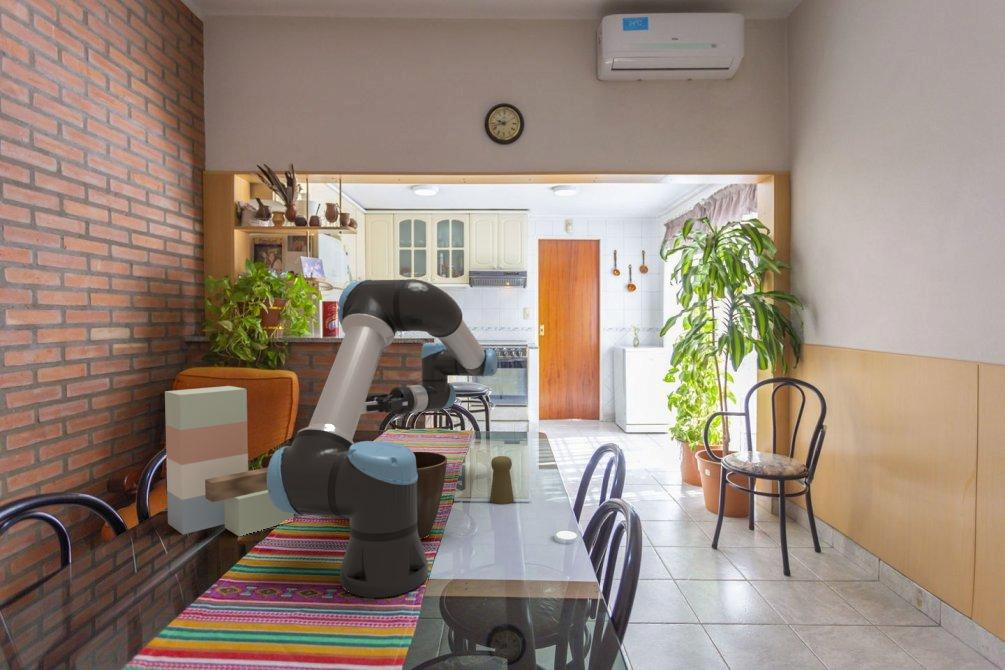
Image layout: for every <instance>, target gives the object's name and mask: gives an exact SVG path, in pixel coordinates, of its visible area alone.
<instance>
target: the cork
mask: <svg viewBox="0 0 1005 670" xmlns="http://www.w3.org/2000/svg"><path fill="white" fill-rule="evenodd" d="M490 465H491V466H490V467H491V468H492V470H493V473H492V479H491V488H490V496H489V501H490V503H492V504H495V505H507V504H511V503H513V502H514V501H515V499H514V493H513V485H512V477H511V469H512V465H513V462H512V459H511V457H509V456H507V455H506V456H505V455H498V456H495V457H493V458H492V460H491V462H490Z"/></svg>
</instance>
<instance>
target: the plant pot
mask: <svg viewBox="0 0 1005 670" xmlns="http://www.w3.org/2000/svg"><path fill="white" fill-rule="evenodd" d="M412 452H413V453H414V455H415V458H416V468H417V473H418V479H417V530H418V534H419V537H420V538H424V537H426V536H428V535H429V536H430V535H431V533H432V531H433V527H434V525H435V522H436V518H437V514H438V512H439V508H440V506H441V505H440V504H441V500H442V495H443V491H444V485H445V480H446V473H447V465H448V457H447V456H446V455H444V454H441V453H437V452H432V451H431V452H430V451H412ZM429 536H428V537H429ZM426 538H427V537H426ZM424 539H425V538H424Z"/></svg>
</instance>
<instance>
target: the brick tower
mask: <svg viewBox="0 0 1005 670" xmlns="http://www.w3.org/2000/svg"><path fill="white" fill-rule="evenodd" d="M247 392H248V391H247V388H243V387H239V386H238V387H237V386H234V385H233V386H232V385H225V386H213V387H200V388H187V389H177V390H168V391H167V390H166V391H164V402H165V406H164V408H165V449H166V451H165V452H166V453H165V455H166V491H167V492H166V493H167V495H166V496H167V498H166V499H167V524H168V525H169V526H170V527H172V528H173V529H175V530H176V531H177V532H179V533H180V534H182V535H187V534H190V533H195V532H198V531H203V530H206V529H210V528H215V527H218V526H222V525H225V511H224V500H220V501H216V502H211V501H209V500H208V499H206V498H205V480H206V479H211V478H216V477H221V476H226V475H231V474H236V473H241V472H247V471H248V468H249V449H248V447H249V445H248V436H249V435H248V397H247V396H248V393H247Z"/></svg>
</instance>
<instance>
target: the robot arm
mask: <svg viewBox="0 0 1005 670" xmlns="http://www.w3.org/2000/svg"><path fill="white" fill-rule="evenodd" d="M341 292H342V293H341V294H340V296H339V300H338V302H337V303H338V305H337V306H338V309H337V316H338V317H337V318H338V321H339V323H340V326H341V330H342V332H343V334H344V337H343V339H342V341H341V344H340V345H339V346H340V347H339V349H338V351H337V353H336V356H335V358H334V362H333V364H332V366H331V369H330V372H329V373H328V377H327V378H326V382H325V384H324V387H323V389H322V391H321V394H320V397H319V399H318V401H317V405H316V406H315V409H314V411H313V414H312V416H311V419H310V422H309V424H308V426H306V427H304V428H301V429H300V430H298V431H297V433H296V434H295V437H294V439H293V442H292V444H291V446H289V445H287V446H283V447H280V448H279V449H277V450H276V451H275V452H273V454H272V456H271V457H270V460H269V462H268V463H269V464H268V466H267V467H268V470H267V487H268V494H269V497H270V499H271V501H272V503H273V504H274V506H275V507H276V508H277V509H279V510H280V511H283V512H288V513H294V514H295V515H297V516H305V515H306V516H321V517H333V518H346V519H347V518H348V519H349V540H348V543H347V546H346V549H345V553H344V556H343V559H342V563H341V565H340V570H339V578H340V579H339V581H340V582H341V584H340V586H341V585H342V586H343V587H344V588H345V589H346V590H347V591H349V592H350V593H353V594H355V595H354V596H356V595H358V596H357V597H361V596H362V598H371V599H372V598H373V599H374V598H375V599H376V598H378V599H379V598H388V597H394V596H399V595H402V594H405V593H408V592H411V591H413V590H416V589H417V588H419V587H420V586H422V585H423V584H424V582H426V580H428V576H429V562H428V558H427V555H426V552H425V548H424V546H423V543H422V539H421V540H420V537H419V534H418V530H417V479H418V473H417V468H416V458H415V455H414V453H413V452H414V451H413V450H412V449H410V448H409V447H407V446H405V445H403V444H399V443H396V442H392V441H383V440H381V441H380V440H376V441H371V440H365V441H359V442H358V441H357V442H354V441H353V439H354V436H355V433H356V430H357V427H358V425H359V424H358V423H359V422H360V418H361V416H362V415H364V414H365V415H366V414H374V413H378V412H379V413H386V414H387V413H391V412H392V413H394V414H395V415H405V414H406V415H407V414H411V413H413V415H418V413H420V412H421V413H422V412H429V411H441V410H444V409H448V408H450V407H452V406H453V405H454V404H455V402H456V399H457V392H456V390H455V387H454V386H453V385H452V384H451V383H448V377H450V376H451V377H453V376H455V377H458V376H459V377H493V376H495V375H496V374H497V370H498V363H499V362H498V354H497V352H496V351H495V350H494V349H488V348H487V349H484V348H482V346H481V344H480V343H479V342H478V340H477V338H476V337H475V335H474V334H473V333H472V331H471V330H470V328H469V327H468V325H467V324H466V322H465V321H464V318H463V312H462V309H461V307H460V306H459V305H458V302H456V300H455V299H453V297H452V296H451V295H449V294H448V292H446V291H444V290H443V289H441V288H439V287H438V286H436V285H433V284H432V283H430V282H427V281H425V280H421V279H416V278H408V279H364V280H358V281H357V280H356V281H353V282H351V283H349V284H347V285H346V286H345V288H344V289H343V290H342V291H341ZM397 332H423V333H425V332H426V333H427V334H428V335H430V337H433V338H436V339H438V340H439V342H426V343H423V344H422V347H421V357H420V362H421V363H420V364H421V368H420V369H421V384H416V385H415V384H414V385H407V386H406V385H403V386H395V387H393V388H392V389H391V390H390V392H389V393H382V394H373V395H368V394H369V391H370V388H371V385H372V382H373V380H374V377H375V373H376V371H377V368H378V366H379V362H380V360H381V356H382V353H383V350H384V348H386V347H388V346H390V345H391V344H392V343H393V342H394V339H395V336H396V333H397ZM340 582H339V583H340ZM350 593H349V594H350ZM353 594H352V595H353Z"/></svg>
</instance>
